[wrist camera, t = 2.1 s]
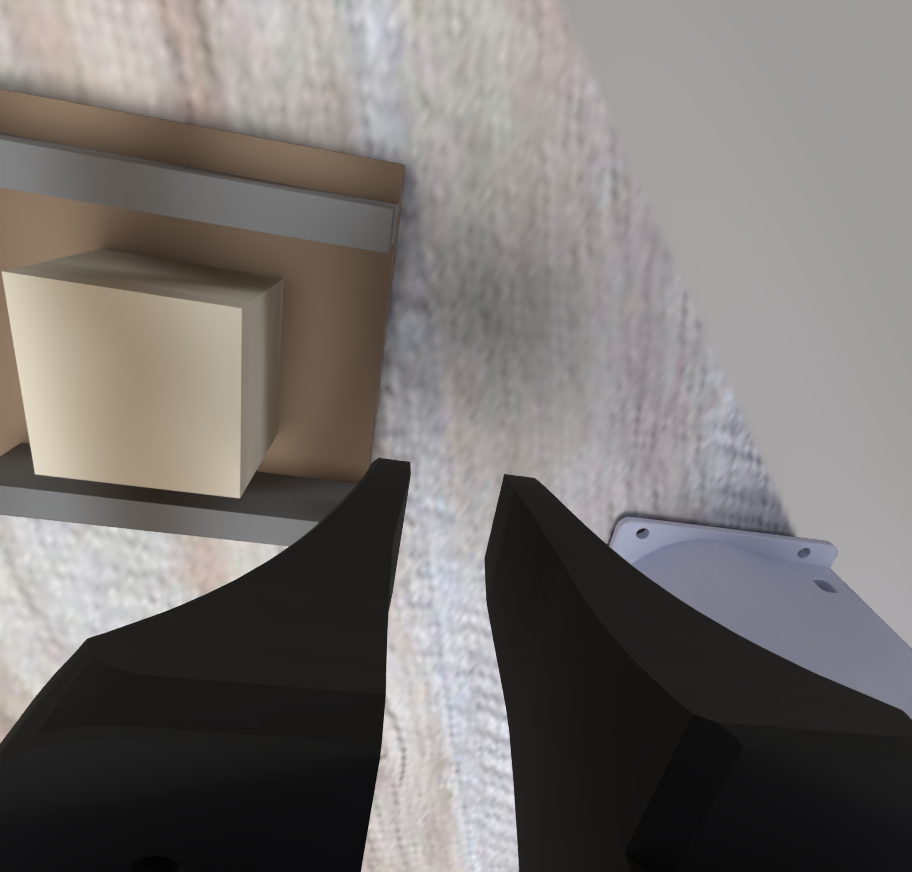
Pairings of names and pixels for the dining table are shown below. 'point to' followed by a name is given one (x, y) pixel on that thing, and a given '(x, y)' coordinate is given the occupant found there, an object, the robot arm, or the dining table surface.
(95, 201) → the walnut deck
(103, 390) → the birch block
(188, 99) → the dining table surface
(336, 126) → the dining table surface
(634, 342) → the dining table surface
